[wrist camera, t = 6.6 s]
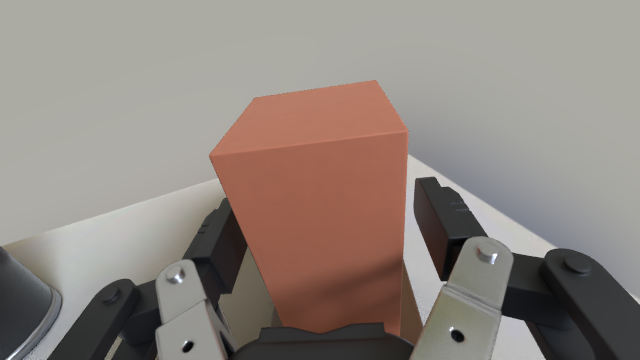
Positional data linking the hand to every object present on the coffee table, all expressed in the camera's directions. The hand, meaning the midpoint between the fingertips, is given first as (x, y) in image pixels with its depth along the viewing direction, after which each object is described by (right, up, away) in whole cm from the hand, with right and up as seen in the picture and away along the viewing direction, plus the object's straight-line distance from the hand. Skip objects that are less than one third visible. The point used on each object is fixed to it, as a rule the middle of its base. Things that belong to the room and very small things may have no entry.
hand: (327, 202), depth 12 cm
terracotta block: (+1, -6, +3) cm, 6 cm away
